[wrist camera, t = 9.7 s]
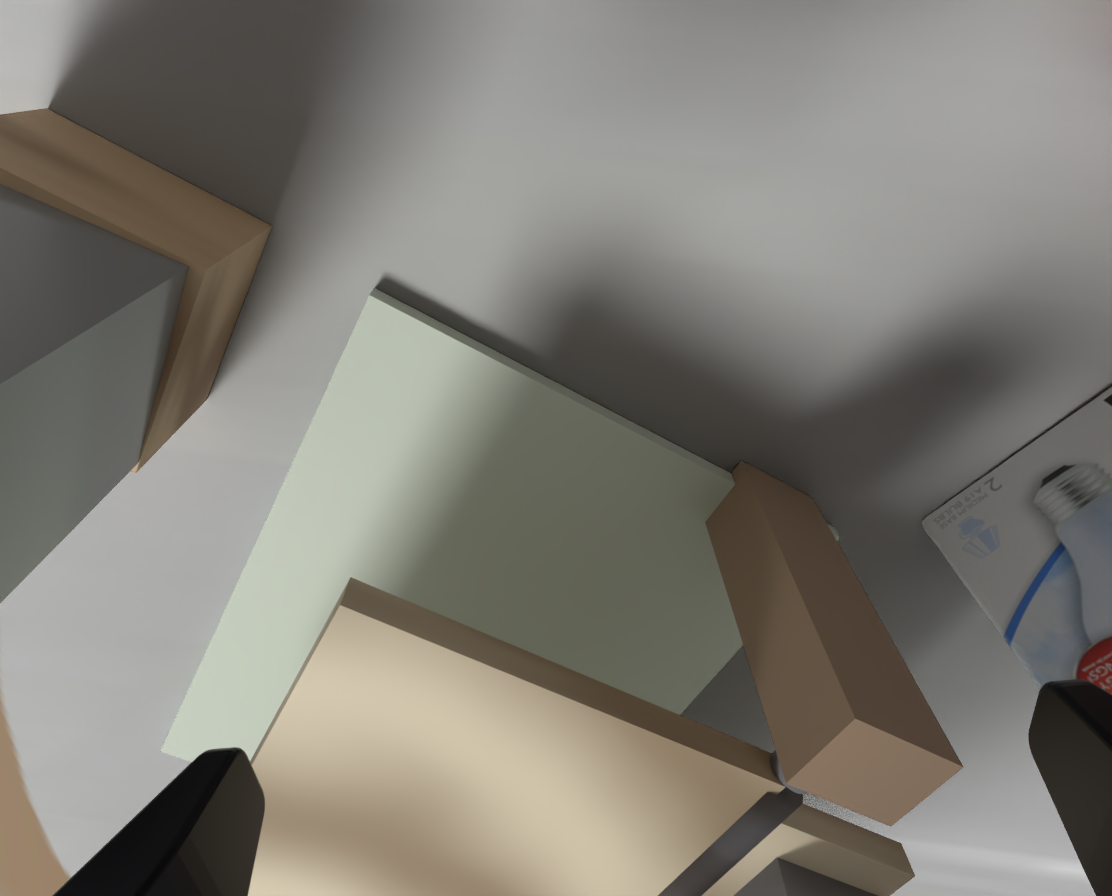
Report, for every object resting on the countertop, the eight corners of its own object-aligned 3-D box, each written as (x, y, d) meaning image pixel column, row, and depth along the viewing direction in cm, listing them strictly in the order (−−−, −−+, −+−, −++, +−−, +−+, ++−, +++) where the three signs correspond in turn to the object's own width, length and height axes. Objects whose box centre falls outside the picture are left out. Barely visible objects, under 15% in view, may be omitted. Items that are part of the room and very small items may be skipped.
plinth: (206, 399, 21) (135, 473, 17) (2, 306, 20) (-119, 365, 16) (272, 226, 19) (206, 269, 15) (46, 108, 17) (-84, 126, 14)
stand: (526, 869, 31) (516, 1172, 23) (163, 745, 27) (-5, 1051, 19) (844, 514, 23) (1010, 787, 14) (381, 271, 19) (250, 448, 11)
